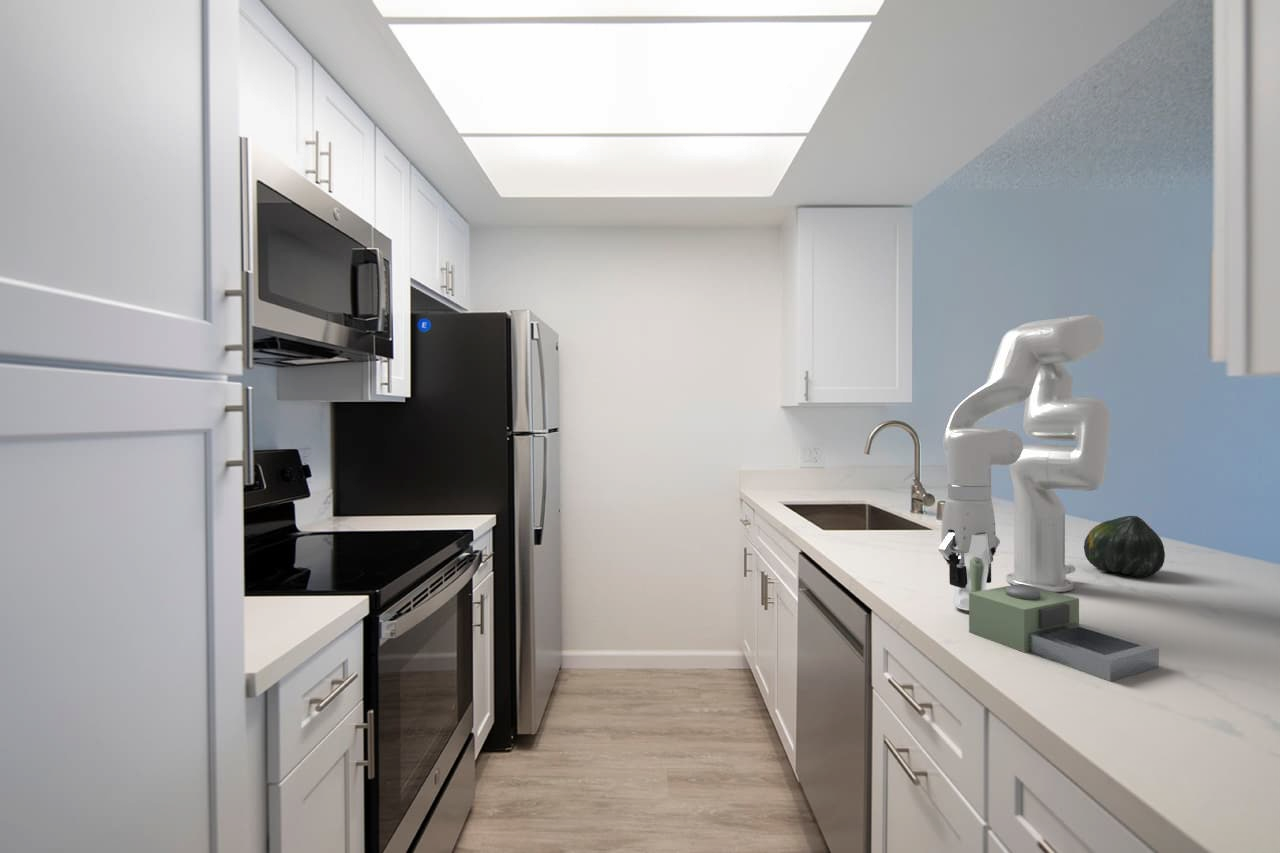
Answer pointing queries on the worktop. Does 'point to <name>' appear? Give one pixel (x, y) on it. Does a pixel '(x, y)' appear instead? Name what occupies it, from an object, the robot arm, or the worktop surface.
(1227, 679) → the worktop surface
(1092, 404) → the robot arm
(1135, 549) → the squash
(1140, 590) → the worktop surface
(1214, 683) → the worktop surface
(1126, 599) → the worktop surface
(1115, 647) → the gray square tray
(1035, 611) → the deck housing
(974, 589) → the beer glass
